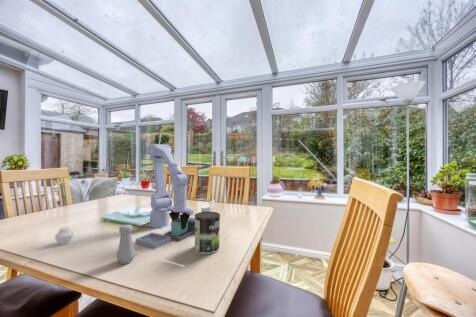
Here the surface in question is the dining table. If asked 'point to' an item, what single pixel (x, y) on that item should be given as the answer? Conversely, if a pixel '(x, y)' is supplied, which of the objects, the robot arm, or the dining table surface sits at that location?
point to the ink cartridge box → (209, 207)
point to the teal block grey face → (177, 227)
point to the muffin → (64, 236)
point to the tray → (153, 240)
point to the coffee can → (207, 232)
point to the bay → (190, 232)
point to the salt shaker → (125, 245)
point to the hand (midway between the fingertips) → (179, 227)
